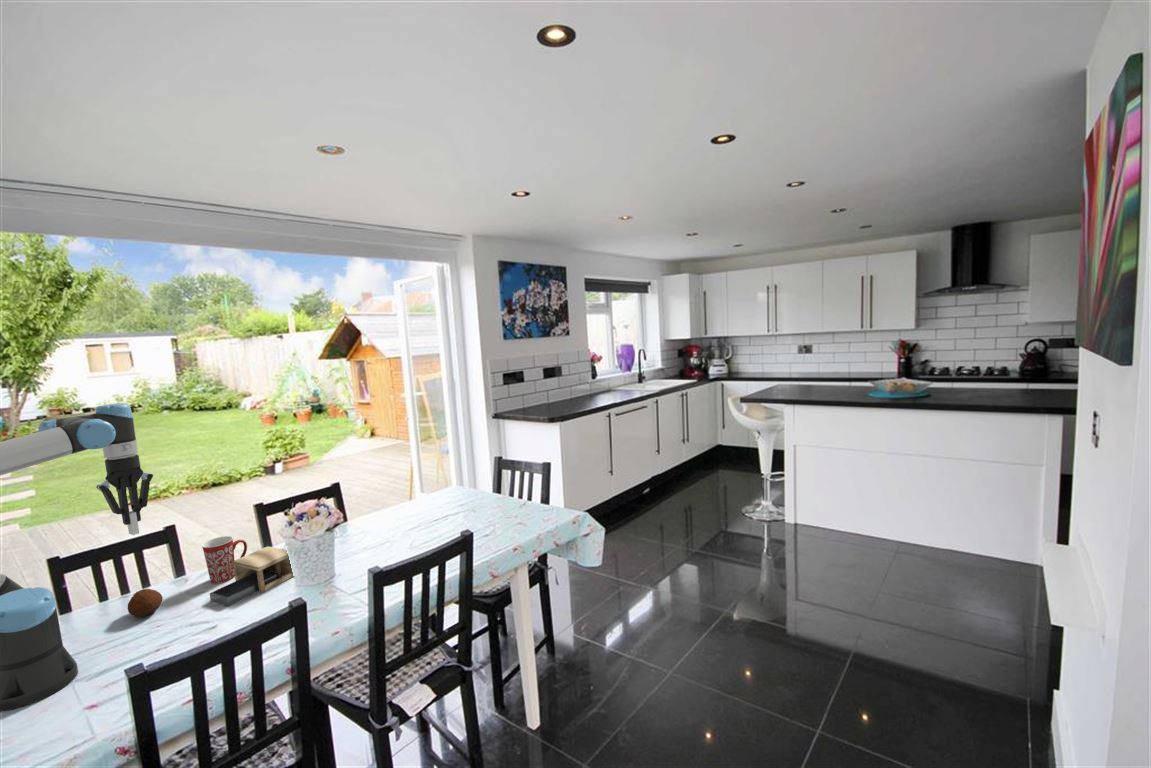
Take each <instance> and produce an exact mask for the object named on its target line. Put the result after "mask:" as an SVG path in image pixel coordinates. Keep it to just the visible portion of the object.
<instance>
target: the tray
mask: <svg viewBox="0 0 1151 768" xmlns="http://www.w3.org/2000/svg"><path fill="white" fill-rule="evenodd" d="M263 577H264V585H266V584H268V583H270V582H272V581H274V580H276V579H277V575H276V573H273V572H270V573H269V572H265V571H263ZM258 592H259V586H258V578H257V572H254V573H252V574H250V575H248V576H246V577H244V578H242V579H239V580H237V581H236V580H235V581H232V582H231V583H229V584H226V585H224V586H223V587H220V588H218V589H216V590H214V591H211V592H209V599H210V602H211V603H214V604H218V605H220V606H223V607H231V606H232V605H235V604H237V603H239V602H241V601H243V600H245V599H247V598H248V597H251V596H253V595H255V594H257V593H258ZM259 593H260V592H259Z"/></svg>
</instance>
